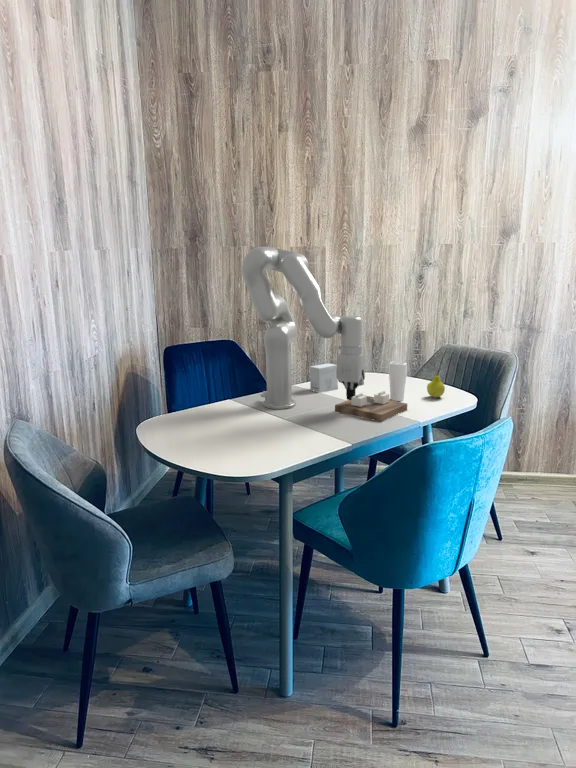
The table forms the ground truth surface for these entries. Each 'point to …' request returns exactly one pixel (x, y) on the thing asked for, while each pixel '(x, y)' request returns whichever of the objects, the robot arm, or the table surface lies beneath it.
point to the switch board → (372, 409)
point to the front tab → (359, 400)
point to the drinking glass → (397, 380)
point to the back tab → (381, 397)
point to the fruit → (436, 387)
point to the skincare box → (323, 377)
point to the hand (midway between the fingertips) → (350, 399)
